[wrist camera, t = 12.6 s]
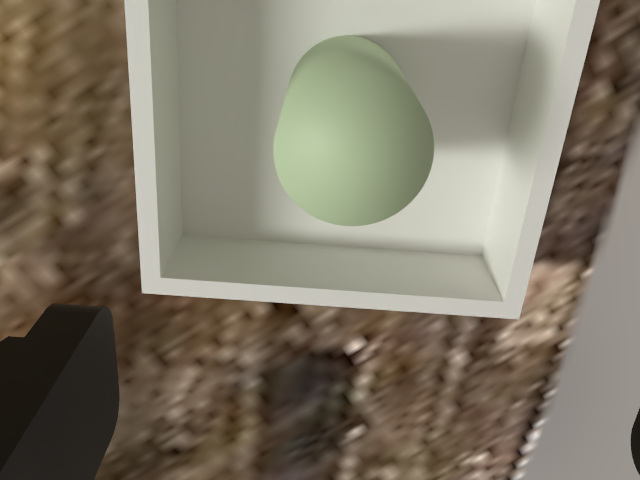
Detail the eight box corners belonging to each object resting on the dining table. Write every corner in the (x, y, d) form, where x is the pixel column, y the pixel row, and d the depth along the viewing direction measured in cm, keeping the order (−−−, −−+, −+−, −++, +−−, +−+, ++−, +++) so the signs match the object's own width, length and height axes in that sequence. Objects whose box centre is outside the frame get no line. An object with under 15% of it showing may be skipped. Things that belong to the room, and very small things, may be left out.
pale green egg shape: (291, 30, 25) (276, 64, 18) (412, 40, 25) (446, 77, 18) (285, 148, 27) (270, 220, 20) (396, 156, 27) (421, 231, 20)
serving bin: (156, -136, 23) (115, -156, 19) (571, -101, 24) (628, -112, 19) (169, 241, 30) (142, 293, 26) (490, 264, 31) (519, 319, 26)
